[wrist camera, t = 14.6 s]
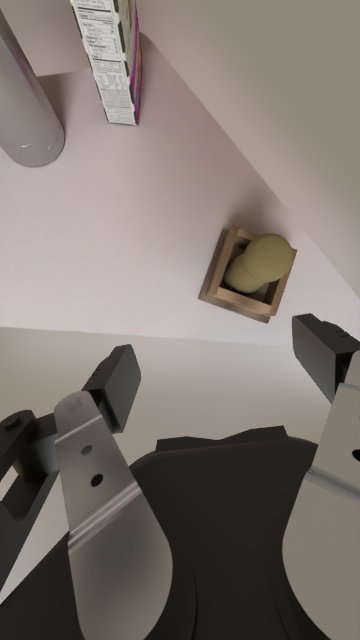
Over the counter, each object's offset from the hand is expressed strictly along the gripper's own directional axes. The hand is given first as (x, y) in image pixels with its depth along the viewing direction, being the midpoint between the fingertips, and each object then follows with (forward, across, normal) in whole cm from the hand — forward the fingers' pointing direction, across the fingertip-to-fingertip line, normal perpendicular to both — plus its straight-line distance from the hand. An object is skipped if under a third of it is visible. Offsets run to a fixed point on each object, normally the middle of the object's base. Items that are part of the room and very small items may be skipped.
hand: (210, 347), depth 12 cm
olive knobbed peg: (+25, -6, +3) cm, 26 cm away
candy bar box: (+36, +7, -27) cm, 45 cm away
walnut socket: (+26, -6, +3) cm, 27 cm away
